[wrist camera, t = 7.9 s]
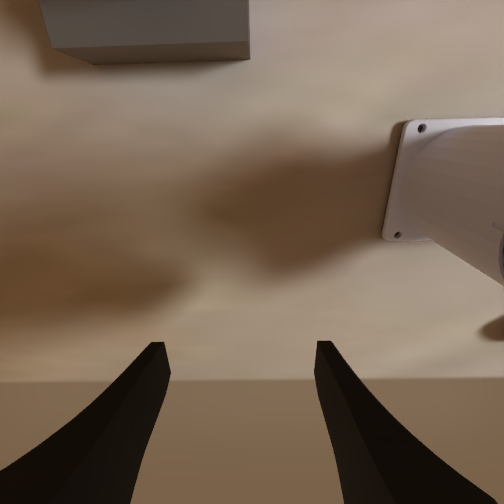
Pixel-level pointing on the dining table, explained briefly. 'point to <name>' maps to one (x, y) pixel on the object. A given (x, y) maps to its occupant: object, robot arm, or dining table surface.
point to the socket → (148, 30)
